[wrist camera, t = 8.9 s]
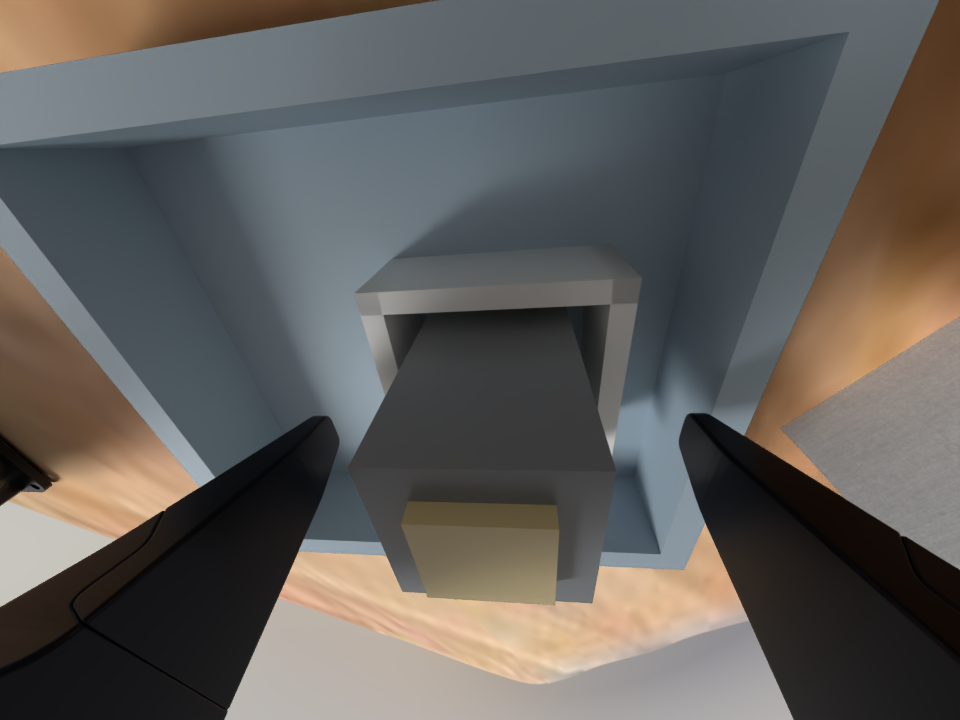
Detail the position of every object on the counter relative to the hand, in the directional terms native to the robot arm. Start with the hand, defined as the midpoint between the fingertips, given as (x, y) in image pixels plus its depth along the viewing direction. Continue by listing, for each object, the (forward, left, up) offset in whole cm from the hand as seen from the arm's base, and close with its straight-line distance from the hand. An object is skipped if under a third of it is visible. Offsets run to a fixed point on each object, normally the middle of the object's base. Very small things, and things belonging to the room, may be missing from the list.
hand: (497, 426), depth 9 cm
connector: (0, 0, -4) cm, 4 cm away
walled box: (0, +2, -5) cm, 5 cm away
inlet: (0, 0, -5) cm, 5 cm away
